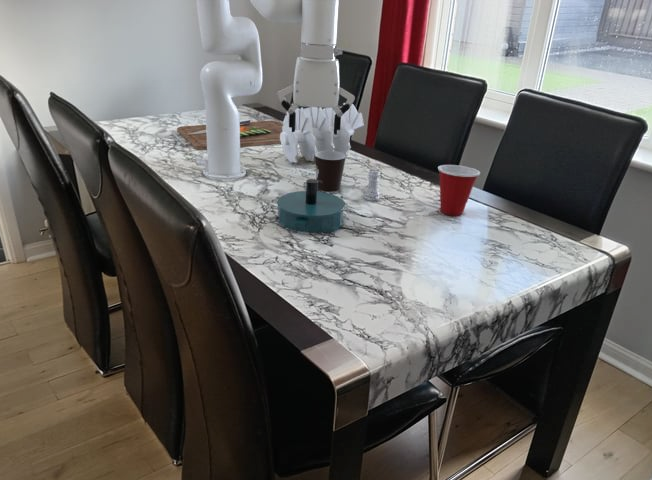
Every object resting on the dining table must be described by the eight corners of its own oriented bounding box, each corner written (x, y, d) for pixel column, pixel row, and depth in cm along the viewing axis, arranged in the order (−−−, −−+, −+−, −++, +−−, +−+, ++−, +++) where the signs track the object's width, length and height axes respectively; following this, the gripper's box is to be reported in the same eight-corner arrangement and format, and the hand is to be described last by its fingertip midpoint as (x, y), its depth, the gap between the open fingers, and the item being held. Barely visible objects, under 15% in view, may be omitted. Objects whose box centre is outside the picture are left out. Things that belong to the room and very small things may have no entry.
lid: (268, 214, 136) (268, 187, 132) (288, 191, 150) (288, 166, 146) (336, 224, 133) (338, 197, 129) (350, 200, 147) (352, 174, 144)
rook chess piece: (368, 202, 157) (371, 173, 153) (360, 196, 161) (363, 168, 157) (382, 200, 159) (385, 172, 155) (374, 194, 162) (376, 167, 159)
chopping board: (188, 151, 189) (188, 141, 188) (168, 130, 210) (167, 122, 208) (311, 140, 208) (311, 132, 207) (281, 123, 229) (281, 115, 227)
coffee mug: (340, 196, 160) (343, 161, 155) (310, 192, 161) (311, 157, 156) (347, 183, 170) (349, 149, 165) (318, 179, 171) (320, 146, 166)
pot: (267, 233, 136) (267, 215, 133) (291, 203, 154) (292, 187, 151) (331, 243, 133) (332, 225, 131) (348, 211, 151) (350, 194, 149)
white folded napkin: (277, 171, 189) (343, 160, 199) (299, 163, 173) (369, 151, 183) (265, 115, 186) (332, 106, 196) (287, 101, 170) (358, 92, 181)
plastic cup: (474, 208, 157) (482, 165, 151) (469, 222, 148) (478, 177, 142) (434, 201, 160) (441, 159, 154) (427, 215, 151) (434, 170, 145)
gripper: (357, 52, 127) (351, 129, 136) (279, 47, 127) (277, 125, 135) (359, 57, 121) (352, 138, 129) (276, 52, 120) (275, 134, 129)
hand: (314, 131), depth 132 cm, fingers open, 9 cm apart
